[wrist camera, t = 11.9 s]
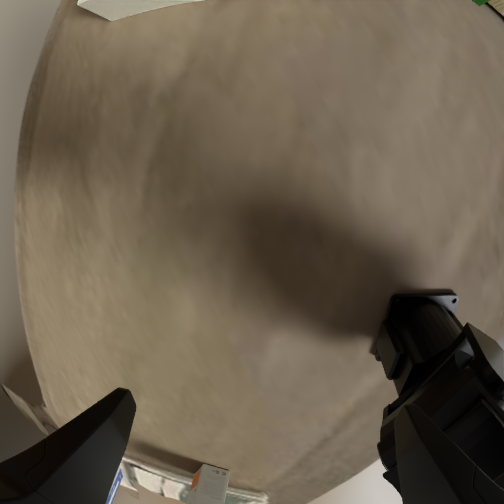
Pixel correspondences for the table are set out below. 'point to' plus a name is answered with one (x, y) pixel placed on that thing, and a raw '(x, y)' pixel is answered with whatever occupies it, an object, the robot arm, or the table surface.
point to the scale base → (126, 6)
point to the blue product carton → (114, 486)
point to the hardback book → (493, 4)
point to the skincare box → (209, 486)
